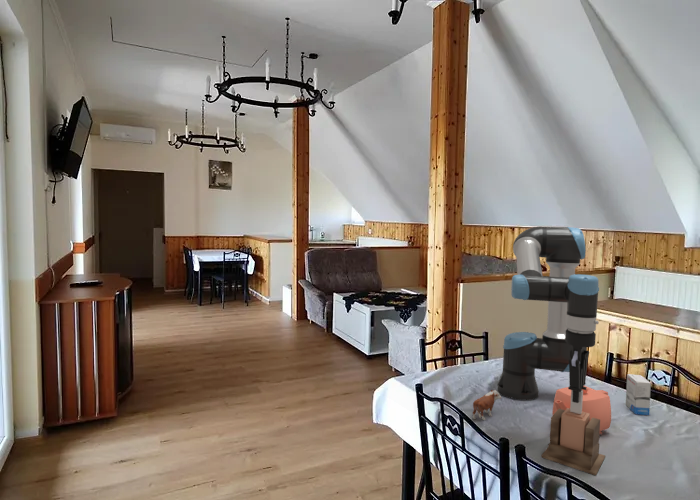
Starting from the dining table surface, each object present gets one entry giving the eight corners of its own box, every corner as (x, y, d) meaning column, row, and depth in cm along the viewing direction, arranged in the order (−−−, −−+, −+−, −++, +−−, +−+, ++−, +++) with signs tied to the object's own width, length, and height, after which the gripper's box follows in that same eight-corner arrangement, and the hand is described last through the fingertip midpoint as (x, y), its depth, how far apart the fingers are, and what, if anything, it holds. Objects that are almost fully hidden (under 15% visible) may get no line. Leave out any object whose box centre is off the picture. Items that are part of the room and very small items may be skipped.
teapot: (570, 444, 138) (572, 399, 137) (538, 426, 149) (540, 384, 148) (621, 432, 146) (624, 389, 145) (587, 416, 158) (589, 376, 157)
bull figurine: (502, 413, 159) (503, 390, 158) (478, 423, 151) (479, 399, 150) (492, 409, 162) (493, 386, 161) (467, 418, 154) (468, 395, 153)
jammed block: (559, 455, 130) (561, 413, 129) (565, 447, 135) (567, 406, 134) (582, 462, 126) (584, 419, 125) (587, 454, 131) (590, 412, 130)
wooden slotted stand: (541, 457, 130) (543, 418, 129) (553, 441, 139) (555, 405, 139) (595, 475, 121) (598, 434, 120) (605, 457, 131) (607, 418, 130)
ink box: (649, 415, 158) (652, 383, 157) (634, 414, 159) (636, 381, 158) (639, 405, 167) (641, 374, 166) (624, 404, 168) (626, 373, 167)
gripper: (590, 337, 120) (585, 424, 122) (600, 328, 130) (595, 408, 132) (559, 332, 125) (555, 415, 127) (572, 324, 135) (567, 401, 137)
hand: (576, 412), depth 129 cm, fingers closed
